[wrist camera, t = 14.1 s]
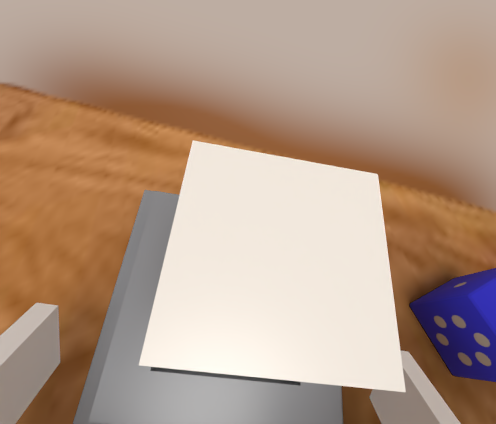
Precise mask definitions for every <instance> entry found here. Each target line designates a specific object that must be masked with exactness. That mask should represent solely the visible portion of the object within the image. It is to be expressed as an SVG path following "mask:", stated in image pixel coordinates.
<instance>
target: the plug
mask: <svg viewBox="0 0 496 424" xmlns="http://www.w3.org/2000/svg"><path fill="white" fill-rule="evenodd" d="M139 365H140V366H150V367H159V368H169V369H179V370H189V371H199V372H209V373H219V374H229V375H239V376H249V377H259V378H269V379H279V380H289V381H298V382H308V383H318V384H328V385H338V386H348V387H358V388H368V389H378V390H388V391H398V392H406V390H405V382H404V374H403V367H402V359H401V351H400V343H399V335H398V328H397V320H396V312H395V304H394V297H393V289H392V281H391V273H390V265H389V258H388V250H387V242H386V234H385V227H384V219H383V211H382V203H381V195H380V188H379V180H378V174H374V173H368V172H363V171H357V170H352V169H346V168H341V167H335V166H330V165H324V164H319V163H313V162H308V161H302V160H297V159H291V158H286V157H280V156H275V155H269V154H264V153H258V152H253V151H248V150H242V149H237V148H231V147H226V146H220V145H215V144H209V143H204V142H198V141H193V142H192V146H191V150H190V154H189V158H188V163H187V167H186V171H185V175H184V179H183V183H182V187H181V192H180V196H179V200H178V204H177V208H176V212H175V216H174V221H173V225H172V229H171V233H170V237H169V241H168V245H167V250H166V254H165V258H164V262H163V266H162V270H161V275H160V279H159V283H158V287H157V291H156V295H155V299H154V304H153V308H152V312H151V316H150V320H149V324H148V328H147V333H146V337H145V341H144V345H143V349H142V353H141V357H140V362H139Z"/></svg>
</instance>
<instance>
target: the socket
mask: <svg viewBox="0 0 496 424" xmlns="http://www.w3.org/2000/svg"><path fill="white" fill-rule="evenodd" d="M179 196H180V195H177V194H170V193H164V192H158V191H148V190H145V191H144V194H143V197H142V201H141V204H140V207H139V210H138V214H137V217H136V220H135V223H134V227H133V230H132V233H131V236H130V240H129V243H128V246H127V249H126V253H125V256H124V259H123V262H122V266H121V269H120V272H119V275H118V279H117V282H116V285H115V288H114V292H113V295H112V298H111V301H110V305H109V308H108V311H107V314H106V318H105V321H104V324H103V327H102V331H101V334H100V337H99V340H98V344H97V347H96V350H95V353H94V357H93V360H92V363H91V366H90V370H89V373H88V376H87V379H86V383H85V386H84V389H83V392H82V396H81V399H80V402H79V405H78V408H77V412H76V415H75V418H74V421H73V424H343V407H342V386H338V385H328V384H318V383H308V382H298V381H289V380H279V379H269V378H259V377H249V376H239V375H229V374H219V373H209V372H199V371H189V370H179V369H169V368H159V367H150V366H140V365H139V362H140V357H141V353H142V349H143V345H144V341H145V337H146V333H147V328H148V324H149V320H150V316H151V312H152V308H153V304H154V299H155V295H156V291H157V287H158V283H159V279H160V275H161V270H162V266H163V262H164V258H165V254H166V250H167V245H168V241H169V237H170V233H171V229H172V225H173V221H174V216H175V212H176V208H177V204H178V200H179Z"/></svg>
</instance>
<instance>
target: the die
mask: <svg viewBox="0 0 496 424" xmlns="http://www.w3.org/2000/svg"><path fill="white" fill-rule="evenodd" d="M410 307H411V309H412V311H413V312H414V314H415V315H416V317H417V319H418V320H419V322H420V323H421V325H422V327H423V328H424V330H425V331H426V333H427V335H428V336H429V338H430V339H431V341H432V343H433V344H434V346H435V347H436V349H437V351H438V352H439V354H440V355H441V357H442V359H443V360H444V362H445V363H446V365H447V367H448V368H449V370H450V371H451V373H452V375H454V376H458V377H465V378H472V379H479V380H486V381H493V382H496V268H494V269H490V270H486V271H482V272H478V273H474V274H469V275H465V276H461V277H457V278H453V279H452V280H450V281H448V282H447V283H445V284H443V285H441V286H440V287H438V288H436V289H434V290H433V291H431V292H429V293H428V294H426V295H424V296H422V297H421V298H419V299H417V300H415V301H414V302H412V303H410Z"/></svg>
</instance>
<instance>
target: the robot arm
mask: <svg viewBox="0 0 496 424" xmlns="http://www.w3.org/2000/svg"><path fill="white" fill-rule="evenodd" d="M401 359H402V367H403V374H404V382H405V390H406V392H398V391H388V390H378V389H373V390H372V392H371V395H370V397H369V398H370V400H371V402H372V404H373V406H374V409H375V411H376V413H377V415H378V417H379V419H380V421H381V424H461V423H460V422H459V421H458V419H457V418H456V416H455V415H454V414H453V412H452V411H451V410H450V408H449V407H448V405H447V404H446V403H445V401H444V400H443V399H442V397H441V396H440V394H439V393H438V392H437V390H436V389H435V387H434V386H433V385H432V383H431V382H430V381H429V379H428V378H427V376H426V375H425V374H424V372H423V371H422V370H421V368H420V367H419V365H418V364H417V363H416V361H415V360H414V359H413V357H412V356H411V354H410V353H409V352H408V351H401ZM59 363H60V340H59V313H58V306H57V305H50V304H42V303H36V304H34V305H33V306H32V307H31V308H30V309H29V310H28V311H27V312H26V313H25V314H24V315H22V316H21V317H20V318H19V319H18V320H17V321H16V322H15V323H14V324H13V325H11V326H10V327H9V328H8V329H7V330H6V331H5V332H4V333H3V334H2V335H1V336H0V424H16V422H17V421H18V420H19V418H20V417H21V415H22V414H23V413H24V411H25V410H26V409H27V407H28V406H29V405H30V403H31V402H32V400H33V399H34V398H35V396H36V395H37V394H38V392H39V391H40V389H41V388H42V387H43V385H44V384H45V383H46V381H47V380H48V379H49V377H50V376H51V374H52V373H53V372H54V370H55V369H56V368H57V366H58V365H59Z"/></svg>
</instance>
